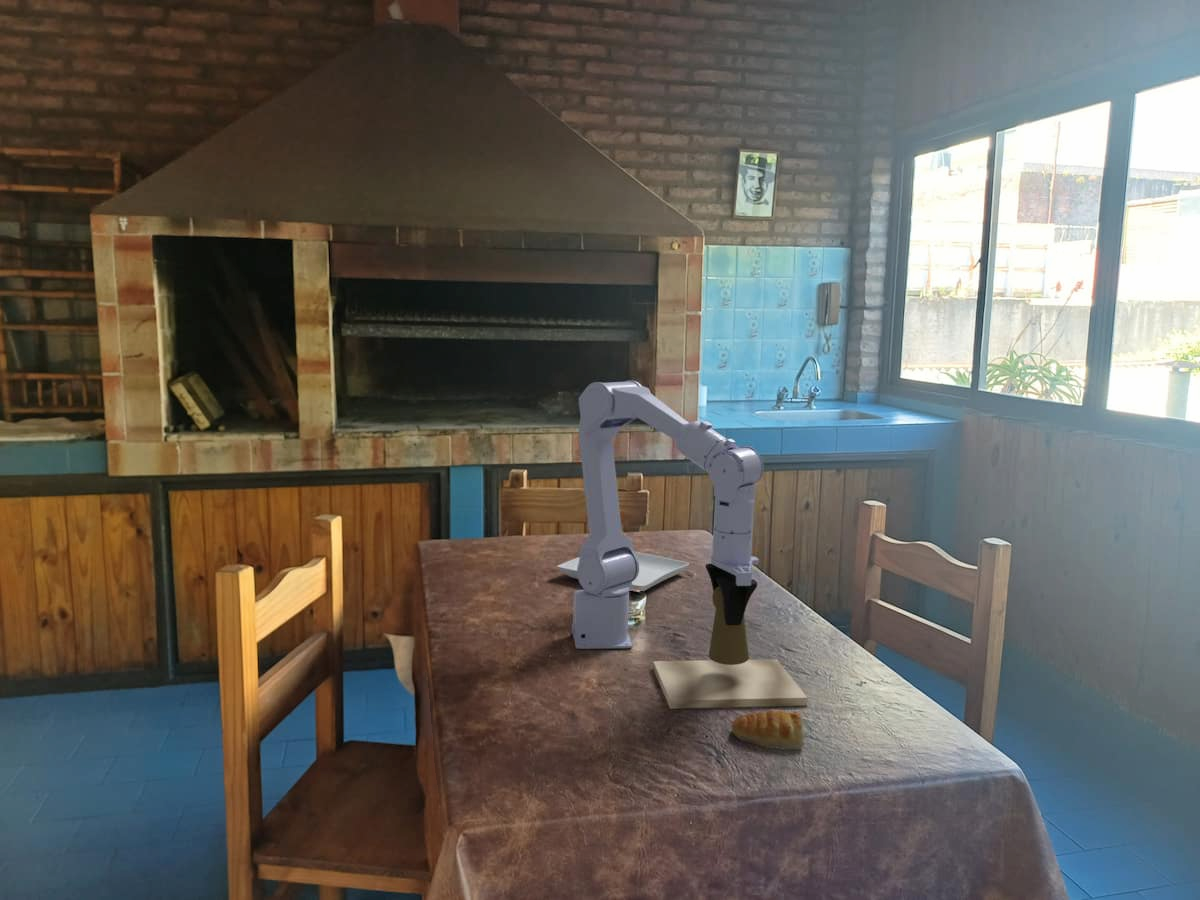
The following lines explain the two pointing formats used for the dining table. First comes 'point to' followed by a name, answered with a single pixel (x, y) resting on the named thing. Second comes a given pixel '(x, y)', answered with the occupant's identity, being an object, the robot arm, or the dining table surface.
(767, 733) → the pastry
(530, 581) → the dining table surface
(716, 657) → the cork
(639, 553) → the salad plate
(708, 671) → the birch board
